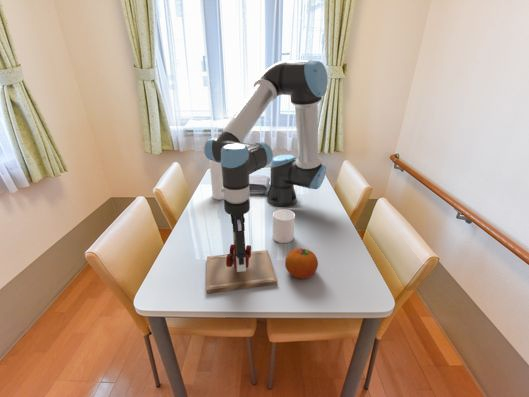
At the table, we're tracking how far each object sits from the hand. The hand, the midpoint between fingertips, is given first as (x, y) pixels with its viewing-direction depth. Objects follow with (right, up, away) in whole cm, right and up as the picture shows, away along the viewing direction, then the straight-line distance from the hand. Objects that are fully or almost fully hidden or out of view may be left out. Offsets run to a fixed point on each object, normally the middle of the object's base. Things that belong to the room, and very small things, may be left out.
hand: (239, 257), depth 87 cm
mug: (+16, +4, +22) cm, 28 cm away
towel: (+2, +23, +62) cm, 67 cm away
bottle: (-15, +20, +54) cm, 59 cm away
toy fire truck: (0, -1, +1) cm, 2 cm away
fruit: (+20, -6, +2) cm, 21 cm away
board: (0, -5, +3) cm, 6 cm away
